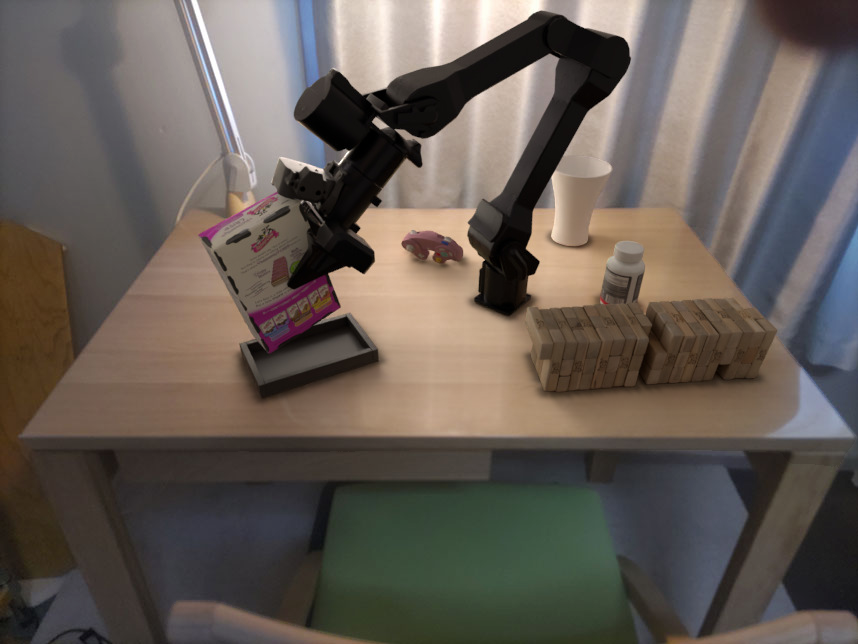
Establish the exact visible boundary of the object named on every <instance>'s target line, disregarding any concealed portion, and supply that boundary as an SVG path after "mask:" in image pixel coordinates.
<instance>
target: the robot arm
mask: <svg viewBox="0 0 858 644" xmlns="http://www.w3.org/2000/svg"><path fill="white" fill-rule="evenodd" d="M549 55H550V56H552V57H555V58H557V59H558V61H557V63H556V66H555V70H554V89H553V95H552V97H551V99H550V100H549V103H548V105H547V106H546V108H545V110H544V112H543V113H542V116H541V118H540V119H539V122H538V123H537V126H536V127H535V129H534V130H533V133H532V135H531V136H530V138H529V140H528V142H527V143H526V146H525V148H524V150H523V152H522V153H521V156H520V157H519V159H518V161H517V163H516V165H515V167H514V169H513V171H512V173H511V174H510V176H509V178H508V180H507V182H506V184H505V185H504V187H503V190H501V193H500V194H499V195H497V196H496V197H494V198H493V199H491V200H490V201H489V200H486V199H485V198H481V199H480V201H478V204H477V206H476V209H475V212H474V214H473V215H472V216H471V218H470V219H469V220H468V221H467V224H468V225H469V227H468V230H467V233H466V236H467V239H468V242H469V244H470V246H471V247H472V248H473V250H475V251H476V252H477V256H479V257H481V258H482V259H483V260H482V262H481V268H480V269H479V270H478V287H477V291H478V293H479V294H477V295H476V296H475V297H473V302H474V303H476V304H479V305H481V306H483V307H486V308H488V309H491V310H493V311H495V312H497V313H500V314H503V315H505V316H507V317H510V316H512V315H513V314H515V312H517V311H518V310H519V309H520V308H522V307H523V306H524V305H525V304H526V303H528V302H529V301H530V300H532V294H530V293H528V292H527V291H528V283H529V276H534V275H536V273H537V270H538V268H539V266H540V263H541V261H540V260H539V259H538V258H537V257H536V256H535V255H534V254H532V253H531V252H530V251H529V250H528V249H527V247H528V244H529V242H530V240H531V237H532V234H533V215H534V213H533V212H534V210H535V207H536V206H537V204H538V202H539V200H540V198H541V197H542V194H543V193H544V192H545V189H546V188H547V186H548V184H549V182H550V181H551V180H552V178H551V177H552V175H553V173H554V171H555V170H556V168H557V166H558V164H559V162H560V161H561V159H562V157H563V156H565V154H566V152H567V150H568V148H569V146H570V144H571V143H572V140H573V139H574V137H575V136H576V134H577V132H578V130H579V128H580V127H581V125H582V123H583V121H584V120H585V117H586V115H587V114H588V113H589V111H591V110H592V109H593V108H595V107H596V106H597V105H599V104H600V103H601V102H602V101H604V100H605V99H607V98H608V97H610V96H611V94H612V93H613V92H614V90H615V89H616V88H617V87H618V85H619V84H620V82H621V80H622V79H623V78H624V77H625V75H626V73H627V72H628V70H629V67H630V65H631V62H632V56H631V49H630V46H629V43H628V41H627V40H626V38H624V37H622V36H620V35H617V34H613V33H609V32H605V31H601V30H598V29H593V28H590V27H583V26H581V25H579V24H577V23H575V22H573V21H571V20H570V19H568V18H567V17H566V16H564V15H563V14H559V13H557V12H556V13H555V12H551V11H547V10H538V11H536V12H532V14H531V15H530V16H528V18H527V19H525V20H523V21H521V22H519V23H518V24H516V25H515V26H512V27H511V28H509V29H507V30H506V31H504V32H502V33H500V34H498V35H497V36H495V37H493V38H492V39H490V40H488V41H486V42H484V43H483V44H481V45H479V46H477V47H476V48H473V49H472V50H470V51H469V52H467V53H465V54H463V55H461V56H459V57H458V58H456V59H454V60H452V61H450V62H446V63H444V64H441V65H433V66H428V67H423V68H419V69H416V70H413V71H410V72H406V73H405V74H404V73H403V74H401V75H398V76H396V77H395V78H394V79H392V80H391V81H390V82H389V83H388V85H387V86H385V87H382V88H379V89H375V90H371V91H368V92H365V93H361V92H360V91H359V90H357V88H355V87H354V86H353V85H352V83H350V81H349V79H348V78H347V77H346V76H345V75H344V74H342V72H340V71H339V70H338V69H336V68H334V67H331V68H330V69H329V71H328V72H327V73H326V74H325V75H324V76H321V77H319V78H318V79H317V80H315V81H314V82H313V83H312V84H311V85H310V86H307V87H306V88H305V89H304V91H302V93H301V95H300V96H299V98H298V100H297V102H296V103H295V107H294V109H293V119H294V120H295V121H296V122H297V123H298V124H300V125H301V126H302V127H304V128H305V129H306V130H308V131H309V132H310V133H311V134H313V136H315V137H316V138H318V139H319V140H320V141H321V142H323V143H324V144H325V145H327V146H328V147H329V148H331V150H333V151H334V152H342V151H345V150H346V151H347V152H346V153H345V155H344V156H343V157H342V159H341V160H340V162H337V161H336V160H334V159H332V160H331V161H328V163H327V164H326V165H325V166H324V167H323V168H321V167H318V166H314V165H312V164H309V163H306V162H302V161H299V160H295V159H291V158H289V157H285V156H278V159H277V162H276V166H275V169H274V172H273V175H272V178H271V185H272V187H273V186H274V187H275V189H276V192H277V193H278V194H279V195H281V196H283V197H285V198H289V199H293V198H295V199H297V200H299V201H300V202H301V205H302V207H303V209H304V212H305V215H306V217H307V220H308V223H309V225H310V228H311V230H312V232H313V234H312V233H310V232H309V231H307V240H308V249H307V251H306V252H305V254H304V255H303V257H302V259H301V260H300V262H299V264H298V265H297V267H296V268H295V270H294V272H293V273H292V275H291V277H290V279H289V281H288V283H287V286H288V287H289V288H291V289H293V290H295V289H297V288H299V287H301V286H303V285H305V284H307V283H309V282H311V281H313V280H316V279H318V278H320V277H322V276H324V275H326V274H331V273H333V272H336V271H338V270H341V269H343V268H346V267H347V268H349V269H351V268H352V269H354V270H356V271H357V272H359V273H360V274H362V275H366V274H367V272H368V271H369V270H370V268H371V267H372V266H373V265H374V263H375V262H376V259H375V258H376V255H375V250H374V249H373V248H372V247H371V246H370V244H369V243H368V242H367V241H366V239H364V238H363V237H362V236H360V235H359V234H358V233H359V231H360V230H361V229H362V228H361V226H360V225H359V224H358V223H357V222H359V220H360V218H362V216H363V215H364V214H365V212H366V211H367V210H368V208H369V207H370V206H371V204H372V205H373V206H374V207H375V208H378V207H379V206H380V205H381V204H382V203H383V200H382V199H381V198H380V197H379V194H380V193H381V192H382V191H383V190H384V188H385V187H386V186H387V184H388V183H389V182H390V180H391V179H392V178H393V177H394V175H395V174H396V173H397V172H398V170H399V169H400V168H401V166H402V165H403V164H404V162H405V161H406V160H407V161H408V162H410V163H411V164H412V165H414V167H416V168H419V169H421V168H422V167H423V164H424V163H423V157H422V146H423V145H422V144H421V143H420V142H419V141H417V140H416V139H414V138H411V139H406V138H405V137H404V136H403V135H401V133H400V132H398V131H399V130H401V131H405V132H407V133H408V134H409V135H410V136H412V137H415V138H418V139H421V140H425V139H429V138H431V137H432V138H433V137H434V136H436V135H437V134H439V133H440V132H442V131H443V130H444V129H445V128H446V127H448V125H450V124H451V123H452V122H454V121H455V120H457V118H458V117H459V115H460V114H461V112H462V111H463V109H464V107H465V106H466V104H468V103H469V102H470V101H472V100H473V99H474V98H475V97H477V96H479V95H481V94H482V93H484V92H486V91H488V90H490V89H491V88H493V87H494V86H496V85H498V84H500V83H501V82H503V81H505V80H507V79H509V78H510V77H512V76H513V75H516V74H517V73H518V72H520V71H522V70H524V69H526V68H528V67H529V66H532V65H533V64H535V63H537V62H538V61H540V60H541V59H544V58H545V57H547V56H549ZM375 119H378V120H379V121H380V122H382V123H383V124H384V125H386V126H384V127H382V128H380V127H378V125H376V124H375V123H374V122H373V121H374V120H375Z"/></svg>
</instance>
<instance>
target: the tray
mask: <svg viewBox="0 0 858 644" xmlns="http://www.w3.org/2000/svg"><path fill="white" fill-rule="evenodd" d="M238 344H239V349H240V354H241V357H242V359H243V361H244V363H245V365H246V368H247V370H248V372H249V375H250V377H251V379H252V381H253V383H254V385H255V388H256V391H257V393H258V395H259V397H260V398H261V399H264V398H266V397H270V396H272V395H273V396H274V395H277V394H280V393H283V392H286V391H289V390H292V389H295V388H297V387H298V388H299V387H301V386H304V385H307V384H311V383H313V382H314V383H315V382H317V381H320V380H323V379H326V378H329V377H333V376H336V375H338V374H342V373H345V372H348V371H351V370H352V371H353V370H355V369H358V368H362V367H364V366H367V365H370V364H373V363H377V362H379V349H378V347H377V345H376V344H375V343H374V342H373V341H372V339H371V338H370V337H369V335H368V334H367V333H366V331H365V330H364V329H363V327H362V326H361V325H360V324H359V322H358V321H357V319H356V318H355V317H354V315H353V314H352V313H351V312H346V313H344V314H340V315H336V316H333V317H329V318H324V319H323V320H321V321H320V322H318V323H317V324H315V325H314V326H312V327H310V328H309V329H307V330H306V331H304V332H303V333H301V334H300V335H298V336H297V337H295V338H294V339H292V340H291V341H289V342H288V343H286V344H285V345H283V346H281V347H280V348H278V349H277V350H275V351H274V352H272V353H270V354H269V353H268V352H267V351H266V350H265V349H264V348H263V347H262V345H261V344H260V343H259V342H258V341H257V340H256V339H255V338H254V339H249V340H247V341H243V342H239V343H238Z"/></svg>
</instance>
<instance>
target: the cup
mask: <svg viewBox="0 0 858 644" xmlns="http://www.w3.org/2000/svg"><path fill="white" fill-rule="evenodd" d="M613 171H614V168H613V166H612V164H611V163H609V162H608V161H606V160H605V159H601V158H598V157H594V156H590V155H582V154H567V155H563V157H562V159H561V161H560V162H559V164H558V166H557V168H556V170H555V171H554V173H553V175H552V177H551V183H552V189H553V195H554V221H553V222H554V223H553V226H552V230H551V234H550V237H551V239H552V240H553V241H554V242H555V243H557V244H559V245H562V246H566V247H579V246H583V245H585V244H587V242H588V241H589V230H590V225H591V219H592V215H593V213H594V210H595V207H596V204H597V201H598V199H599V197H600V195H601V192H602V191H603V189H604V187H605V186H606V183H607V182H608V179H609V178H610V176H611V174H612V173H613Z"/></svg>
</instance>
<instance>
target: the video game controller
mask: <svg viewBox="0 0 858 644" xmlns="http://www.w3.org/2000/svg"><path fill="white" fill-rule="evenodd" d="M401 247H402V248H403V249H404V250H406V252H408V253H410V254H413V255H414V257H416V258H417V259H418V260H421V261H426V260H428V258H429V256H430V251H431V252H433V255H432V259H431V260H433V261H434V263H437V264H439V265H443V264H445V263H446V262H447V261H451V260H452V261H454V262H460V261H461V260H462V259H463V258H464V248H463V247H462V246H461V245H459V244H458V242H457V241H455V239H454V238H452V237H450V236H444V235H443V234H440V233H438V232H436V231H434V230H420V231H416V230H414V229H411V230H410V231H408V233H407V234H405V236H403V238H402V241H401Z"/></svg>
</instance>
